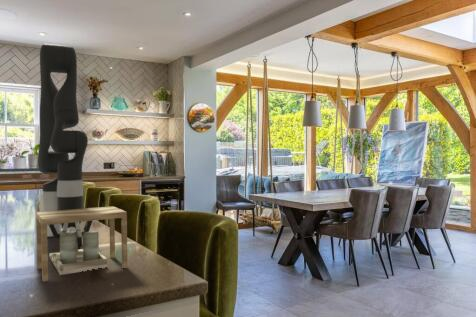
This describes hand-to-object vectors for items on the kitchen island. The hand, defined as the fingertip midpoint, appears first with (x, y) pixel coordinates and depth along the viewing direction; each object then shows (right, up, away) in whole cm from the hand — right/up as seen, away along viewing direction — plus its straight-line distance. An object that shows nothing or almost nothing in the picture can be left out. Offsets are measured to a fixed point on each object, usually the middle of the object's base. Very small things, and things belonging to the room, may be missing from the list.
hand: (71, 249), depth 125 cm
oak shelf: (+9, -2, -15) cm, 17 cm away
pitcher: (-32, -1, +55) cm, 63 cm away
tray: (+5, -2, -8) cm, 10 cm away
